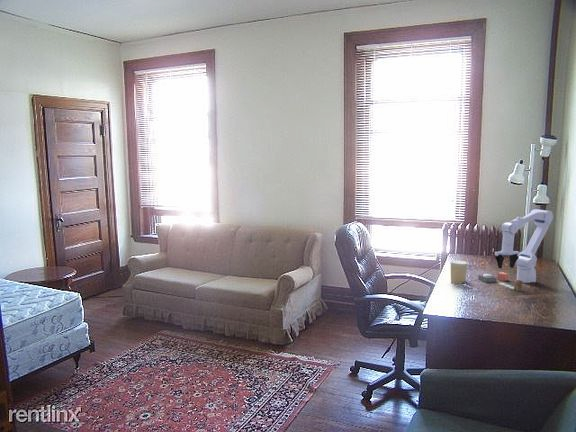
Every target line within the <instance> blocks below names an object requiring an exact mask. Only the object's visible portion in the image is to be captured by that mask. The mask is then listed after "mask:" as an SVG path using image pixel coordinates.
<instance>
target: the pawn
mask: <svg viewBox="0 0 576 432" xmlns="http://www.w3.org/2000/svg"><path fill="white" fill-rule="evenodd" d="M513 287H514V289H513V290H514V291H515V292H516V291H517V292H522V290H523V282H522V281H521V280H517V279H514V282H513Z"/></svg>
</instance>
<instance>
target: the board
mask: <svg viewBox="0 0 576 432" xmlns="http://www.w3.org/2000/svg"><path fill="white" fill-rule="evenodd" d="M477 278H478V280H479V281H482V282H484V283H496V282H497V280H498V279H497V278H498V276H494V275H492V277H489V278H486V277H484V276H483V274H478V277H477ZM498 284H499V285H501V286H504V287H506V288H510V289H512V290H514V286H512V285H510V284H506V283H505V282H498ZM522 291H523V289H522ZM522 291H521V292H522Z"/></svg>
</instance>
